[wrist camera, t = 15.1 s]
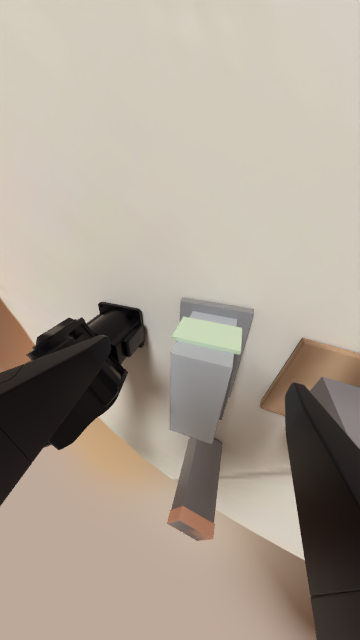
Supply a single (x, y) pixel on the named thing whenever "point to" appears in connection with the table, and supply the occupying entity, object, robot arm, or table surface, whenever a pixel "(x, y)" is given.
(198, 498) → the block
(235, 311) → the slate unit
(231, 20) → the table surface
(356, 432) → the block
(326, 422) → the robot arm
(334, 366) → the walnut pad
